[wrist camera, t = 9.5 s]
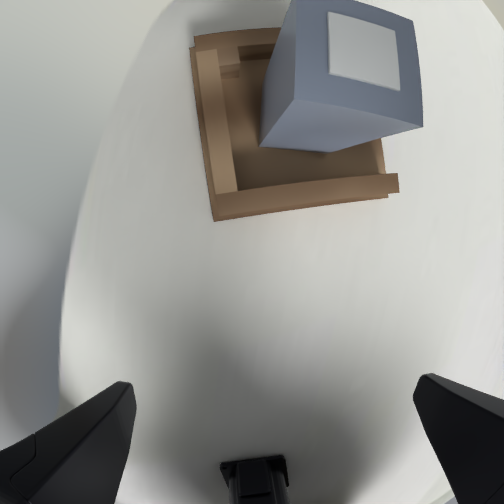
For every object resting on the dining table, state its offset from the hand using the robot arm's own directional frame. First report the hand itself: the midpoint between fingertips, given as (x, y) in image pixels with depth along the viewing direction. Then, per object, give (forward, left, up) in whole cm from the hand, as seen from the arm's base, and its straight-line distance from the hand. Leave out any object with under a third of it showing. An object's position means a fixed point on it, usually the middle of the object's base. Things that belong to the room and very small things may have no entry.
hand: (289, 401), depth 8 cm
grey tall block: (+10, -4, -12) cm, 16 cm away
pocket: (+10, -4, -12) cm, 16 cm away
